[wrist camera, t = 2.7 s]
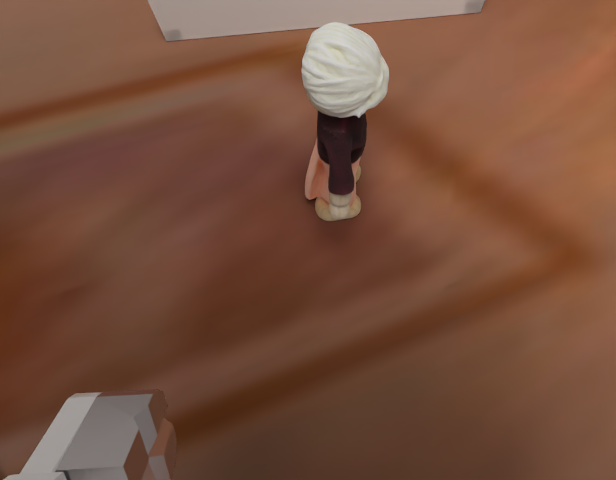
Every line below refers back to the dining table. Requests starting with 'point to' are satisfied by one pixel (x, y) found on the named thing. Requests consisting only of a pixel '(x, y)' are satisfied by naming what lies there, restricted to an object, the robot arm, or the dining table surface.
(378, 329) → the dining table surface
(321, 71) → the grandmother figurine
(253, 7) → the tray
